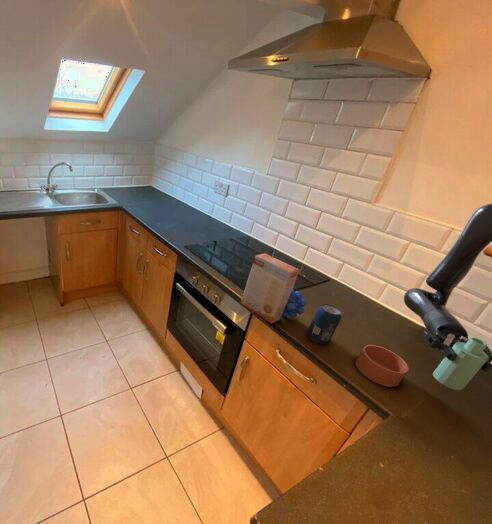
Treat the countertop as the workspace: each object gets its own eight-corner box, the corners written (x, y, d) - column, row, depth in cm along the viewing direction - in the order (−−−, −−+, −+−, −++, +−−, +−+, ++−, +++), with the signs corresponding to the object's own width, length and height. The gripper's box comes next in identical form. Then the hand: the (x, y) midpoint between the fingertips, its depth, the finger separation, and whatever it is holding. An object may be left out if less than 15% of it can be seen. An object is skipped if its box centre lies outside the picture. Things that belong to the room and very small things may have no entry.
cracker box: (281, 320, 108) (301, 269, 98) (270, 324, 105) (290, 272, 95) (249, 299, 118) (265, 252, 108) (239, 303, 115) (254, 254, 105)
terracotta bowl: (373, 356, 96) (381, 343, 93) (408, 383, 86) (418, 370, 84) (347, 360, 93) (354, 347, 90) (380, 389, 83) (390, 375, 81)
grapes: (268, 319, 107) (279, 291, 102) (266, 308, 113) (276, 281, 108) (302, 326, 106) (315, 298, 100) (298, 315, 112) (310, 288, 106)
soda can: (314, 329, 105) (327, 300, 100) (333, 341, 100) (348, 312, 95) (301, 334, 102) (315, 305, 96) (320, 347, 97) (335, 317, 91)
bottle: (442, 370, 85) (472, 331, 78) (468, 388, 80) (502, 348, 73) (427, 373, 83) (456, 334, 77) (453, 392, 78) (486, 351, 72)
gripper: (420, 309, 90) (443, 341, 76) (482, 325, 85) (518, 363, 71) (408, 328, 93) (427, 363, 80) (466, 345, 89) (498, 385, 75)
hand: (470, 363), depth 76 cm, fingers closed on bottle, 6 cm apart
